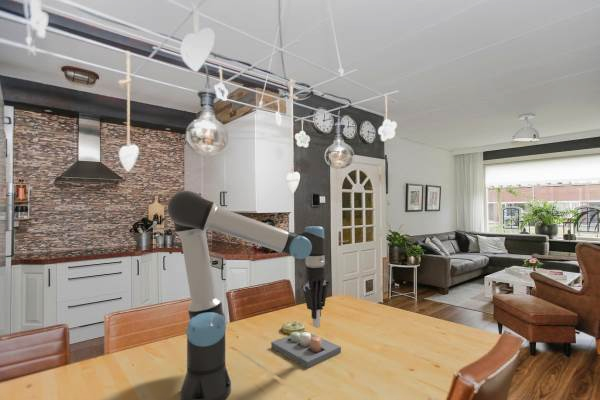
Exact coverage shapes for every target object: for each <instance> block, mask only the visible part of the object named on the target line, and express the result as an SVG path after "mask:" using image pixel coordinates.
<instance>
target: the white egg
mask: <svg viewBox="0 0 600 400" xmlns="http://www.w3.org/2000/svg"><path fill="white" fill-rule="evenodd" d="M310 333H311V332H309V333H308V331H306V332H303V333H300V345H301V346H303V347H308V346H310V338H311V334H312V333H311V334H310Z"/></svg>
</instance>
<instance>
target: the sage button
mask: <svg viewBox="0 0 600 400" xmlns="http://www.w3.org/2000/svg"><path fill="white" fill-rule="evenodd" d="M290 335H291V342H293V343H295V344H296V343H298V342H300V332H292V333H291V334H290Z"/></svg>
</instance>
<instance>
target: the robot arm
mask: <svg viewBox="0 0 600 400" xmlns="http://www.w3.org/2000/svg"><path fill="white" fill-rule="evenodd" d="M166 207H167V209H166V210H167V214H168V216H169V218H170V219H171V221H172V223H173V228H174V232H175V234H177V235H178V236H179V237H180V240H181V242H180V243H181V246H182V252H183V258H184V259H183V260H184V265H185V271H186V279H187V282H188V283H187V284H188V289H189V296H190V301H191V302H190V304H189V305H188V307H187V310H188V317H189V318H188V319H189V321H188V323H187V328H186V330H185V331H186V373H185V376H184V379H183V383H182V386H181V388H180V399H181V400H226V399H227V398H228V397H229V396H230V394H231V391H232V382H231V379H230V378H231V377H230V375H229V372H228V370H227V366H226V330H227V326H226V315H225V313H224V310H223V308H224V307H223V304H222V303H223V302H222V299H221V298H219V297H217V295H216V287H215V282H214V281H215V280H214V276H213V267H212V263H211V257H210V249H209V246H208V239H207V230H211V231H214V232H217V233H220V234H224V235H226V236H230V237H233V238H236V239H239V240H242V241H245V242H248V243H252V244H254V245H258V246H261V247H263V248H267V249H270V250H273V251H275V252H276V253H278V254H279V253H281V254H285V255H288V256H291V257H293V258H295V259H298V260H304V259H305V265H306V266H305V275H306V283H305V284H304V285H302V286H301V289H302V292H303V294H304V299H305V304H306V308H307V310H311V318H312V326H313V327H315V328H317V329H318V328H320V327H321V317H322V310H323V309H324V307H325V306H326V299H327V291H328V286H329V283H330V282H329V281H328V280H325V275H326V267H325V265H326V264H325V263H326V261H325V260H326V259H325V229H324V227H323V226H319V225H317V226H313V225H311V226H305V228H304V231H301V232H300V231H299V232H298V231H296V232H291V231H288V230H285V229H282V228H280V227H278V226H274V225H271V224H267V223H265V222H263V221H259V220H257V219H254V218H250V217H249V216H248V217H247V216H244V215H242V214H240V213H236V212H235V211H234V212H233V211H231V210H230V211H229V210H228V209H224V208H221V207H219V206H217V204H216V202H214V201H210V200H209V199H206V198H204V197H203V196H202V195H200V194H199V193H197V192H195V191H190V190H183V191H179V192H176V193H175V194H174V195H172V196H171V197H170V199H169V201H168V203H167V206H166Z"/></svg>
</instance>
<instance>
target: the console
mask: <svg viewBox="0 0 600 400" xmlns="http://www.w3.org/2000/svg"><path fill="white" fill-rule="evenodd" d="M303 332H308V331H306V330H305V329H304V330H303V331H300V333H303ZM308 333H310V334H311V338H312V337H319V336H318V335H316V334H313V333H311V332H308ZM320 338H321V347H322V350H321V351H320V352H313V351H311V350H310V346H308V347H303V346H301V345H300V342H298V343H296V344H295V343H293V342H291V334H288V335H286V336H284V337H282V338H279V339H276V340H273V341H271V348H272V349H274V350H275V351H276V352H278V353H280V354H282V355H284V356H285V357H287V358H289V359H291V360H293V361H294V362H296V363H298V364H300V365H301V366H303V367H305V368H307V369H310V368H312V367H313V366H315V365H318V364H320V363H323V362H324V361H326V360H329V359H331V358H332V357H334V356H337V355H338V354H341V353H342V346H340V345H338V344H335V343H333V342H331V341H328V340H327V339H325V338H323V337H320Z"/></svg>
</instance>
